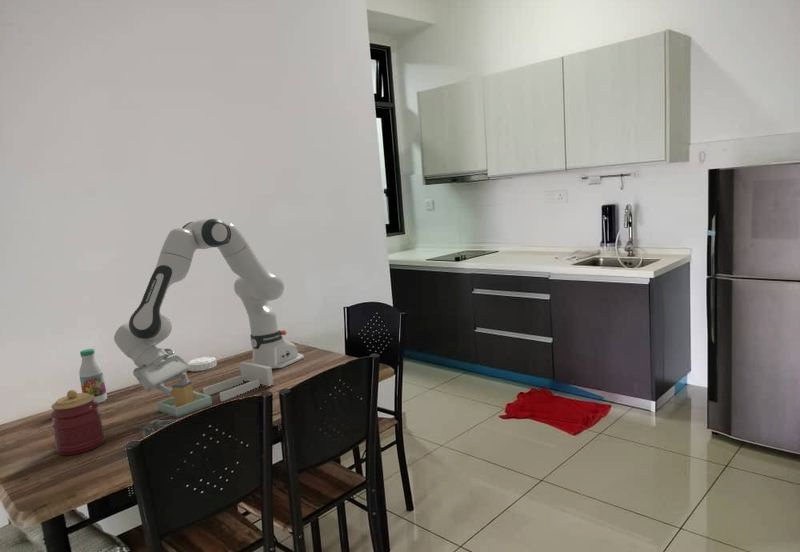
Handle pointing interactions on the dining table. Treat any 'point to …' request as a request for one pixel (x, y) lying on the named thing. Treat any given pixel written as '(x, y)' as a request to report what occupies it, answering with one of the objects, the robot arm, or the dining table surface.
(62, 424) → the canister
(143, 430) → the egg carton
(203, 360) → the mooncake
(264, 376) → the dock
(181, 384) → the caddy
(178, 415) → the tray
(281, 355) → the robot arm
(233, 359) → the dining table surface
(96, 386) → the milk bottle
